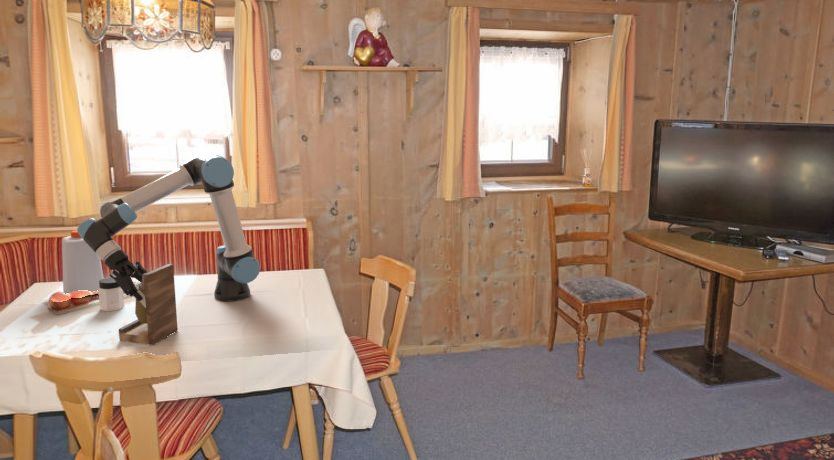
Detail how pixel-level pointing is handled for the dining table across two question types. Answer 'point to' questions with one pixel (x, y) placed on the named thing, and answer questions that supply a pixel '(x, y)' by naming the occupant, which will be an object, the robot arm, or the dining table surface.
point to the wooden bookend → (155, 309)
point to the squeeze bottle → (139, 308)
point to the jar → (110, 295)
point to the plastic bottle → (80, 265)
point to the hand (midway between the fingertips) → (155, 302)
